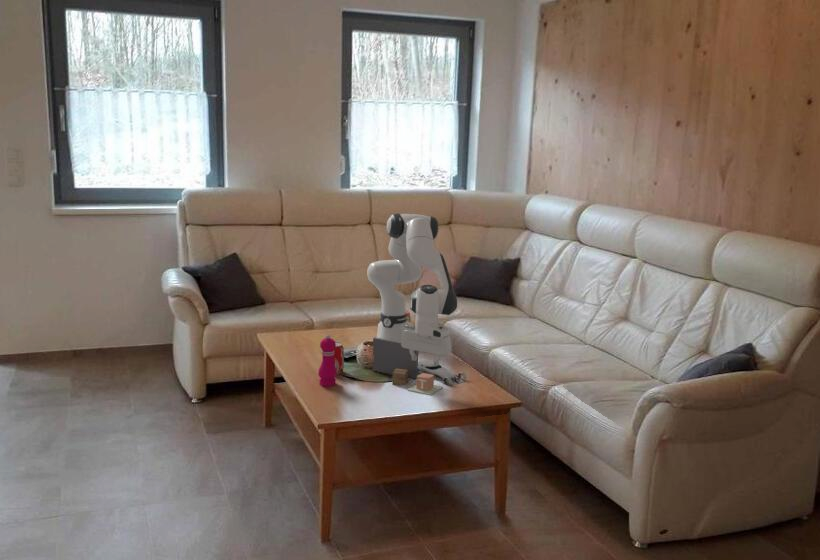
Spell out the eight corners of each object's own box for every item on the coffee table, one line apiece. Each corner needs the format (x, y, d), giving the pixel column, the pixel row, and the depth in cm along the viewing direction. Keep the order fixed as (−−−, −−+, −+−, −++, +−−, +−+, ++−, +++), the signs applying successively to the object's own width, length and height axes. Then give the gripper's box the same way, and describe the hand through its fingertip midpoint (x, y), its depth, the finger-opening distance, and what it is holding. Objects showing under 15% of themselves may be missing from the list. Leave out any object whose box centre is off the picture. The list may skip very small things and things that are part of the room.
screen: (377, 367, 321) (378, 335, 318) (420, 376, 312) (421, 343, 309) (372, 370, 317) (373, 338, 314) (415, 379, 308) (416, 346, 305)
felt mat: (419, 382, 304) (419, 382, 304) (442, 387, 300) (442, 386, 300) (407, 390, 296) (407, 389, 296) (431, 395, 291) (431, 394, 291)
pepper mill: (315, 381, 302) (316, 332, 298) (333, 379, 305) (334, 331, 301) (321, 387, 296) (321, 337, 292) (339, 385, 299) (339, 336, 294)
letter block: (422, 385, 301) (422, 372, 300) (433, 387, 299) (434, 375, 298) (416, 388, 297) (416, 376, 296) (427, 391, 294) (428, 378, 293)
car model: (449, 387, 301) (450, 375, 300) (406, 372, 318) (406, 360, 317) (468, 381, 309) (469, 369, 308) (424, 366, 326) (425, 355, 325)
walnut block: (395, 380, 307) (395, 368, 306) (407, 381, 306) (408, 369, 305) (392, 384, 302) (392, 372, 301) (404, 385, 301) (405, 373, 300)
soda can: (340, 375, 310) (341, 347, 307) (323, 374, 311) (324, 345, 309) (345, 370, 317) (346, 342, 314) (329, 368, 318) (329, 340, 316)
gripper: (398, 325, 295) (397, 359, 298) (447, 334, 286) (445, 369, 289) (406, 321, 300) (405, 355, 303) (454, 330, 291) (452, 365, 294)
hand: (425, 362), depth 296 cm, fingers open, 8 cm apart
